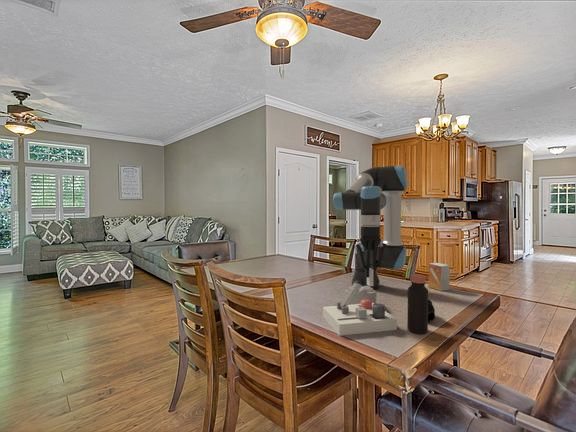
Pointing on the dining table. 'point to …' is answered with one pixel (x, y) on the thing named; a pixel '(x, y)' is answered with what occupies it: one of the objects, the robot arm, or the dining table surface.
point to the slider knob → (361, 312)
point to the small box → (439, 276)
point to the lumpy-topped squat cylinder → (362, 295)
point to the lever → (350, 294)
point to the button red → (366, 304)
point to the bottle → (417, 305)
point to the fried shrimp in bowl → (430, 311)
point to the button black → (378, 311)
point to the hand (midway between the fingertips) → (370, 285)
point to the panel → (356, 320)
